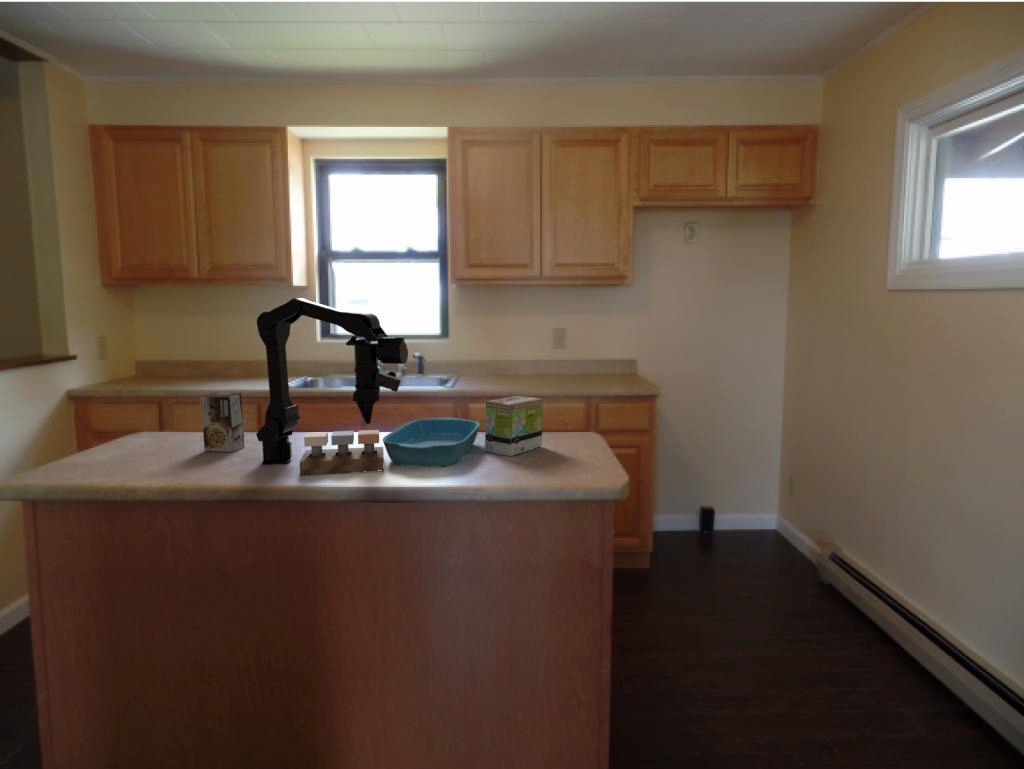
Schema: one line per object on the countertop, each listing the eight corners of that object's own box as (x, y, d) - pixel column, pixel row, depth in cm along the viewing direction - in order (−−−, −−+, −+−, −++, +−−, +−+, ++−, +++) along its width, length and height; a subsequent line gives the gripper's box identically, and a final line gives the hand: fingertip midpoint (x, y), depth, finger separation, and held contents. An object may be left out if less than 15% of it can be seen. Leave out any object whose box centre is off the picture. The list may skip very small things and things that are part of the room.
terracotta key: (358, 457, 156) (357, 434, 155) (359, 452, 161) (358, 430, 160) (379, 456, 157) (378, 433, 156) (379, 451, 162) (379, 429, 161)
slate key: (332, 458, 154) (331, 435, 154) (333, 453, 159) (332, 431, 159) (353, 457, 155) (352, 435, 155) (354, 452, 161) (353, 430, 160)
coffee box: (245, 447, 180) (242, 392, 178) (233, 452, 173) (230, 396, 171) (216, 446, 181) (212, 392, 179) (203, 451, 174) (199, 395, 172)
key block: (300, 475, 150) (299, 461, 150) (306, 463, 162) (305, 450, 161) (383, 471, 154) (383, 457, 154) (383, 459, 166) (383, 446, 165)
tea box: (512, 457, 168) (512, 404, 166) (484, 452, 174) (483, 400, 172) (543, 447, 180) (543, 397, 178) (516, 442, 186) (516, 394, 184)
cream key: (305, 460, 153) (304, 437, 152) (307, 455, 158) (306, 432, 157) (326, 459, 154) (325, 436, 153) (328, 454, 159) (327, 432, 158)
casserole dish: (456, 473, 153) (456, 445, 152) (371, 470, 156) (370, 442, 155) (486, 441, 189) (486, 418, 188) (416, 438, 192) (416, 416, 191)
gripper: (399, 366, 148) (400, 429, 150) (397, 359, 166) (399, 416, 168) (351, 367, 146) (354, 431, 148) (355, 360, 164) (357, 417, 166)
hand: (368, 423), depth 158 cm, fingers closed
